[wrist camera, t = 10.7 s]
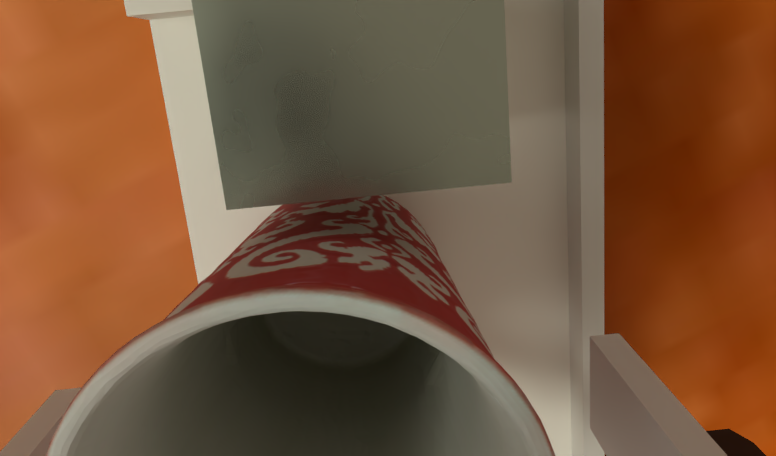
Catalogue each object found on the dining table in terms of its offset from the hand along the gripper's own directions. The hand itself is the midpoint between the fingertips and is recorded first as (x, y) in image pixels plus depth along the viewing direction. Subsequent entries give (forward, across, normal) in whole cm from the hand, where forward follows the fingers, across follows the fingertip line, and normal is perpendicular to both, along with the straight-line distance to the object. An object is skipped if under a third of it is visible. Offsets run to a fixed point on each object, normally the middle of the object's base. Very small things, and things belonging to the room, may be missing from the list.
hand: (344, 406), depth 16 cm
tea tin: (+8, +1, +8) cm, 11 cm away
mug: (+8, +1, -1) cm, 8 cm away
